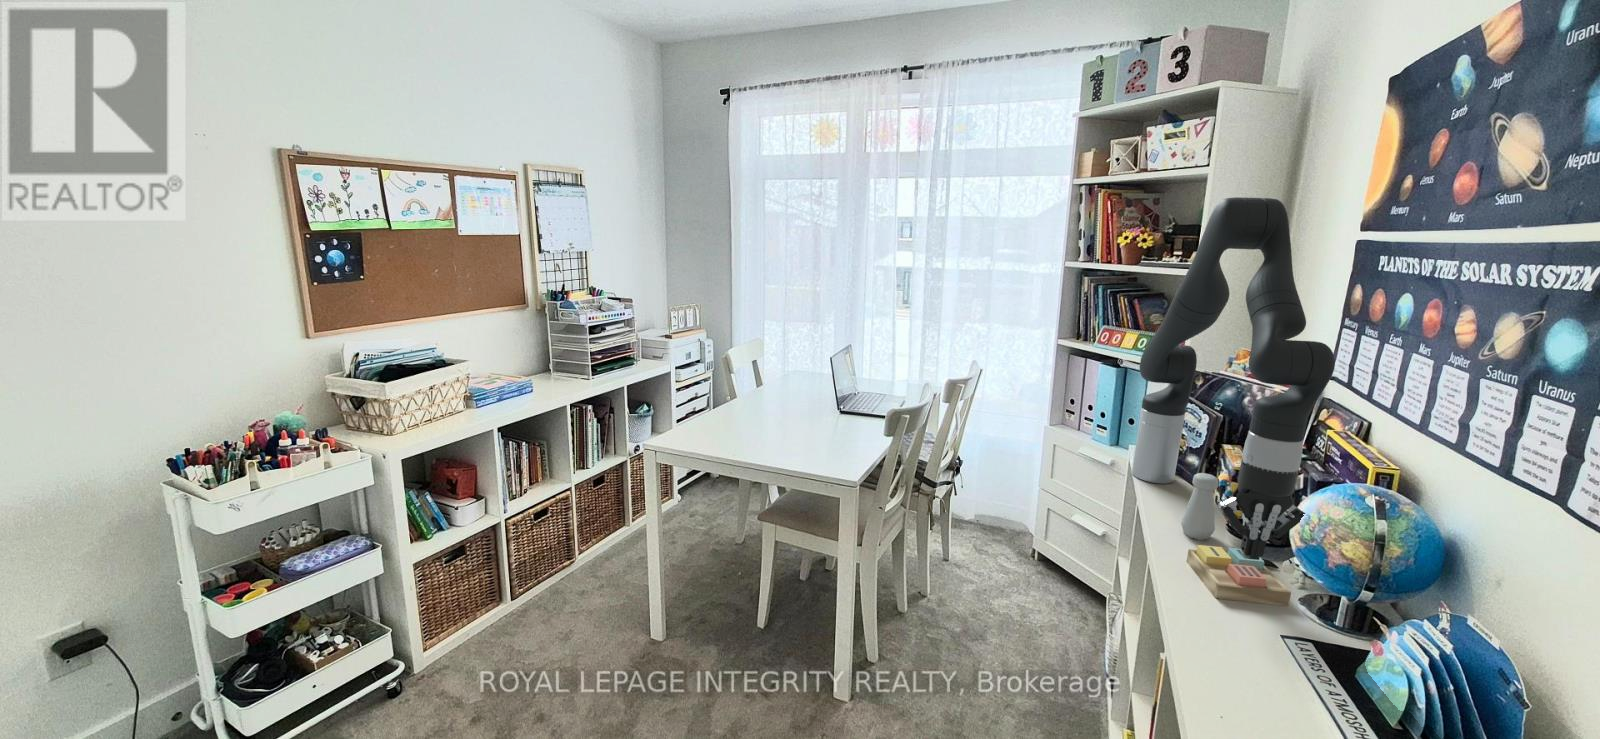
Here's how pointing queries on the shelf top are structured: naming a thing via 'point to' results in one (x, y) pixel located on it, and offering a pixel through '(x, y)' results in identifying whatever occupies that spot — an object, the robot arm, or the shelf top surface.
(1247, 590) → the button board
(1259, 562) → the tile
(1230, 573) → the tile
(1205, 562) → the tile
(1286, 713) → the shelf top surface
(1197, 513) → the salt shaker
